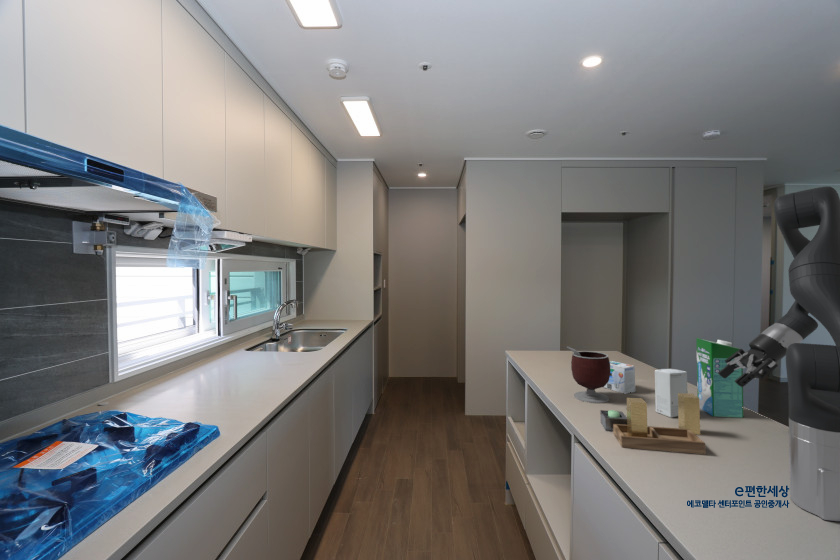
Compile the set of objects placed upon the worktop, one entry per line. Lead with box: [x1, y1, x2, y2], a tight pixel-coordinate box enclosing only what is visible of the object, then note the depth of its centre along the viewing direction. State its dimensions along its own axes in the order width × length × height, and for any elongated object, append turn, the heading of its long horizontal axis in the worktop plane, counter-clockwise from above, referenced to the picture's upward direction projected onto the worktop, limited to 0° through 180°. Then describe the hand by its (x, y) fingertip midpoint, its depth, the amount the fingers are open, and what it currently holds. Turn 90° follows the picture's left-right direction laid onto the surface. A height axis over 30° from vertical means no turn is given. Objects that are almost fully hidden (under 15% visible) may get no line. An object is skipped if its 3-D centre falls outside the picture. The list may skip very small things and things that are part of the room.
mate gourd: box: [566, 346, 611, 404], centre depth 141 cm, size 16×14×20 cm
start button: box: [607, 409, 620, 417], centre depth 113 cm, size 3×3×4 cm
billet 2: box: [677, 393, 701, 436], centre depth 109 cm, size 4×4×11 cm
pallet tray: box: [612, 424, 706, 455], centre depth 102 cm, size 9×20×3 cm, turn 75°
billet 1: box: [626, 397, 648, 438], centre depth 103 cm, size 4×4×11 cm
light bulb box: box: [603, 360, 636, 395], centre depth 150 cm, size 11×7×11 cm, turn 25°
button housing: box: [599, 409, 627, 432], centre depth 113 cm, size 6×6×4 cm
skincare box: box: [654, 368, 689, 418], centre depth 123 cm, size 8×6×15 cm
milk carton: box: [695, 337, 745, 419], centre depth 123 cm, size 9×9×25 cm
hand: (729, 380), depth 106 cm, fingers open, 8 cm apart
